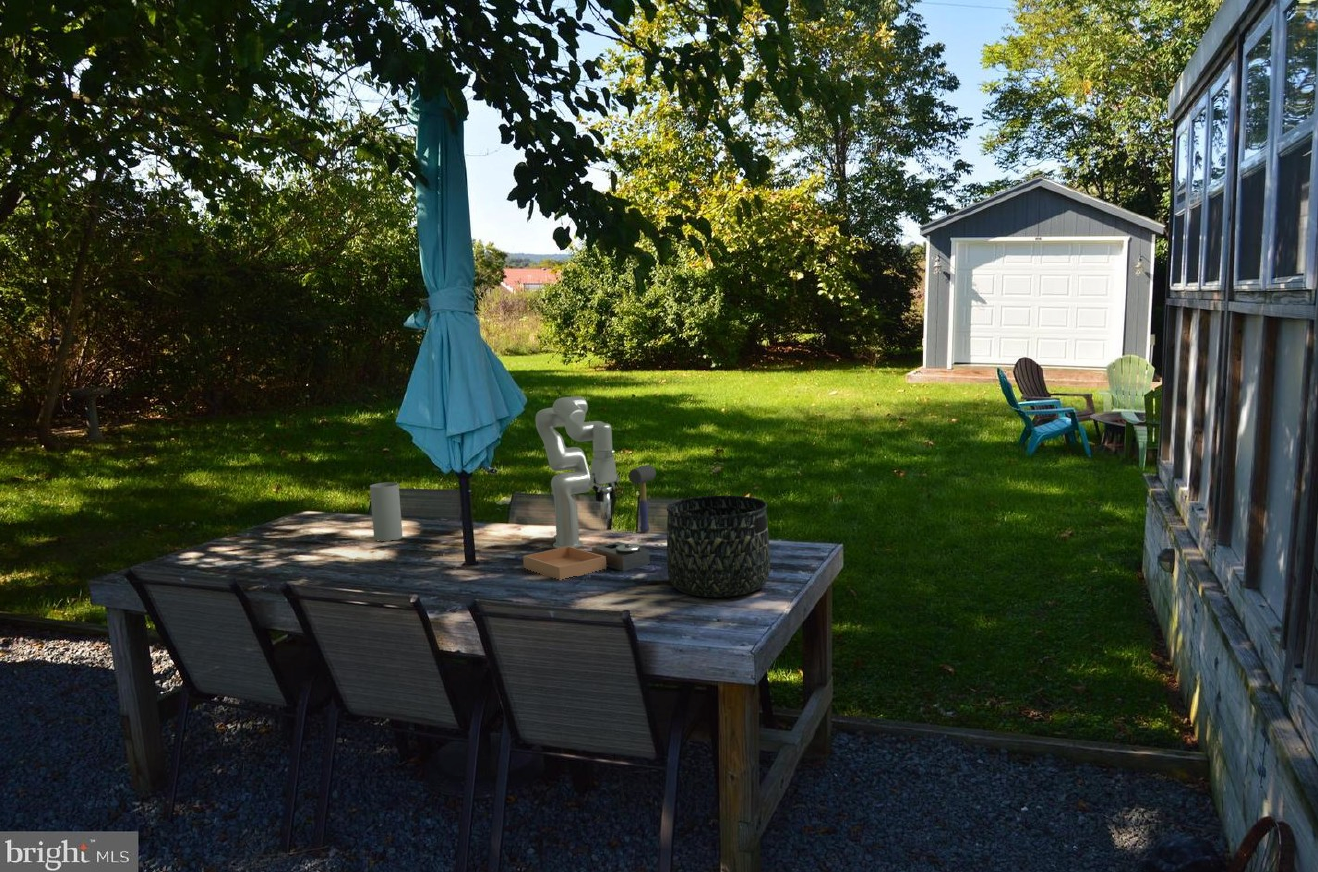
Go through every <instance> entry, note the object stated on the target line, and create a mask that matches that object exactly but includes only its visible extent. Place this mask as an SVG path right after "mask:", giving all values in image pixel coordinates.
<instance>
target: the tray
mask: <svg viewBox="0 0 1318 872" xmlns="http://www.w3.org/2000/svg"><path fill="white" fill-rule="evenodd" d="M522 559H523V569H524V568H526V569H525V570H527V569H528V570H527V571H530V570H531V571H530V572H533V571H534V572H533V573H536V572H537V573H536V574H539V573H540V574H539V575H543V576H545V577H548V576H550V577H549V578H551V577H553V578H552V579H554V578H556V579H555V580H557V579H559V580H558V581H563V580H562V579H564V580H566V579H565V578H569V577H573V576H577V577H579V576H584V574H585V575H588V573H589V574H592V572H593V573H596V572H595V571H597V572H600V571H599V570H601V571H603V570H602V569H605V570H607V566H606V557H605V556H602V555H598V554H595V553H592V552H590V551H589V550H588V551H587V550H584V549H580V548H574V547H570V546H566V547H562V548H553V549H548V550H544V551H540V552H536V553H530V554H526V555H523V557H522ZM573 578H574V577H573ZM569 579H570V578H569Z"/></svg>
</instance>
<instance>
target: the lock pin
mask: <svg viewBox="0 0 1318 872" xmlns="http://www.w3.org/2000/svg"><path fill="white" fill-rule="evenodd" d="M610 491H612V488H611V486H608V485H603V486H602V485H601V490H600V492H602V502H599V504H600V506H599V508H600V519H601V520H611V519H612V514H611V513H612V509H611V508H612V507H611V499H610Z"/></svg>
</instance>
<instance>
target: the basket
mask: <svg viewBox="0 0 1318 872" xmlns="http://www.w3.org/2000/svg"><path fill="white" fill-rule="evenodd" d="M767 507H768V504H767V502H766V501H765V500H762V499H760V498H756V497H750V496H744V495H743V496H741V495H704V496H695V497H694V496H693V497H687V498H684V499H683V498H682V499H678V500H675V501H672V502H670V503H668V504H667V505H666V508H665V509H666V511H667V523H666V524H667V525H666V526H667V527H666V530H667V532H666V561H667V562H666V568H667V569H666V570H667V576H668V578H669V581H670V583H671V584H672V586H674V588H675V589H676V590H678V591H679V592H681V593H684V594H686V595H691V596H697V597H702V598H703V597H704V598H730V597H739V596H742V595H747V594H750V593H753V592H757V590H760V589H762V588H763V586H764V585H765V584H766V583H767V581H768V579H769V578H770V573H771V554H770V553H771V552H770V539H769V528H768V527H769V526H768V516H767Z"/></svg>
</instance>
